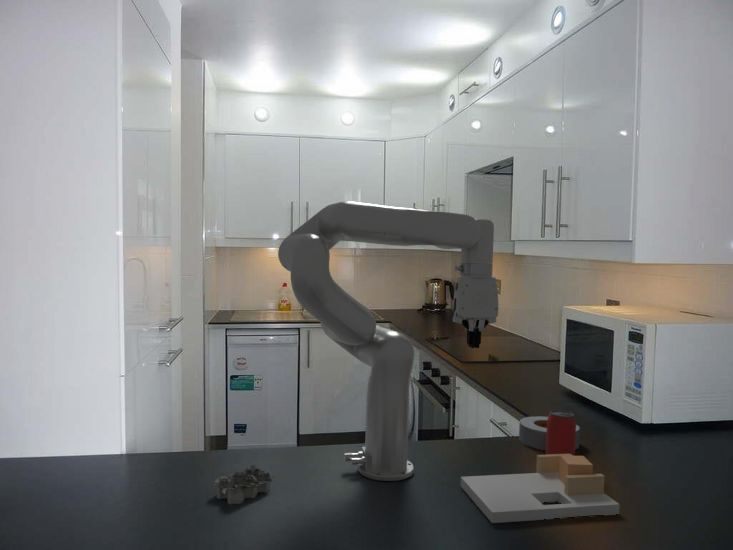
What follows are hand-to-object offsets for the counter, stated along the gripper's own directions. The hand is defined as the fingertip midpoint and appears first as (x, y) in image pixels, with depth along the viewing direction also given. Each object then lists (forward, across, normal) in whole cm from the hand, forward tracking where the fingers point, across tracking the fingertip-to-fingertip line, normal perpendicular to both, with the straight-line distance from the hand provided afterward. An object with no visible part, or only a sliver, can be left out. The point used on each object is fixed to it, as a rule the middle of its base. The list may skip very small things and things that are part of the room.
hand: (473, 347), depth 129 cm
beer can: (+27, +21, -5) cm, 35 cm away
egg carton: (+28, -53, -12) cm, 61 cm away
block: (+25, +15, -21) cm, 36 cm away
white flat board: (+27, +5, -23) cm, 36 cm away
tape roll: (+28, +26, +9) cm, 39 cm away
